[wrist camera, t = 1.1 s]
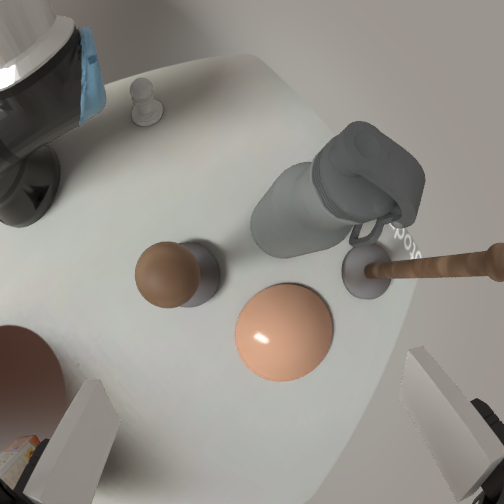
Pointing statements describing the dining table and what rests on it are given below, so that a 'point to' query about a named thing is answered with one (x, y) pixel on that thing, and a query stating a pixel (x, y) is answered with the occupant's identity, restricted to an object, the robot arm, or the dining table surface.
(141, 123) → the chess piece
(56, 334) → the dining table surface
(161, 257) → the walnut post
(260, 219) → the water bottle
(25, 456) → the cracker box
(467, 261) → the walnut post
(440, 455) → the robot arm
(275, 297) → the glossy peach dome
